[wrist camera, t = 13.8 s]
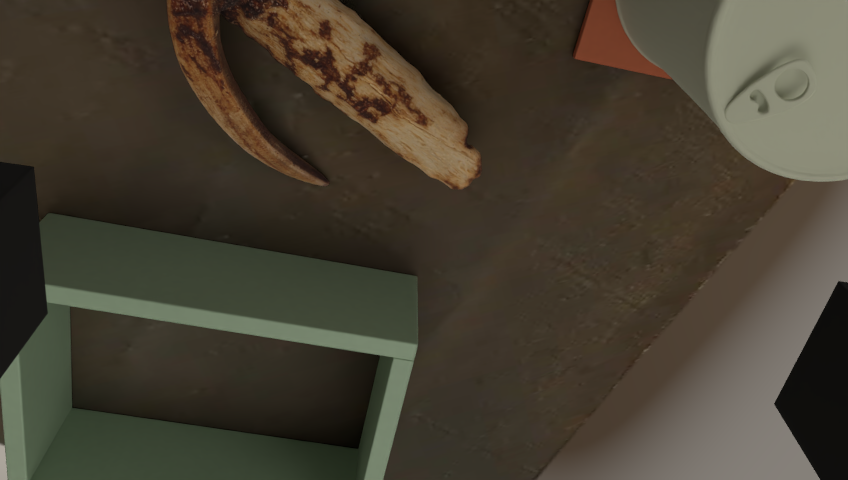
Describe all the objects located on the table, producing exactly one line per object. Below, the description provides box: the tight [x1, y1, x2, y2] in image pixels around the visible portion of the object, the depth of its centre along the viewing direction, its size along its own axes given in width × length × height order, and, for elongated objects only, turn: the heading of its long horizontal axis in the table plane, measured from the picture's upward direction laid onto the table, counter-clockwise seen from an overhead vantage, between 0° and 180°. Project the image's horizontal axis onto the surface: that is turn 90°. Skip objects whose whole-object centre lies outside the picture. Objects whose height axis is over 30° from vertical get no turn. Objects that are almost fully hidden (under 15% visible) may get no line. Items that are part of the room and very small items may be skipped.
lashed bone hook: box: [167, 0, 482, 190], centre depth 32 cm, size 9×5×18 cm
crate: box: [0, 213, 418, 480], centre depth 40 cm, size 14×19×6 cm
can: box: [615, 0, 848, 182], centre depth 27 cm, size 9×9×12 cm
